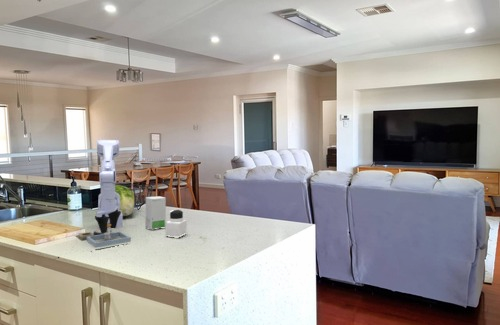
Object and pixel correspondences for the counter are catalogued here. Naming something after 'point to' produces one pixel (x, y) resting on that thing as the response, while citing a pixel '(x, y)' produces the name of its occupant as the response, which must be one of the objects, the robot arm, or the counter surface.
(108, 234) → the lock pin
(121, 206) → the lettuce
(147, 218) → the skincare box
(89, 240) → the tray
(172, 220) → the medicine bottle
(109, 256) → the counter surface
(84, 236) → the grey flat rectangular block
